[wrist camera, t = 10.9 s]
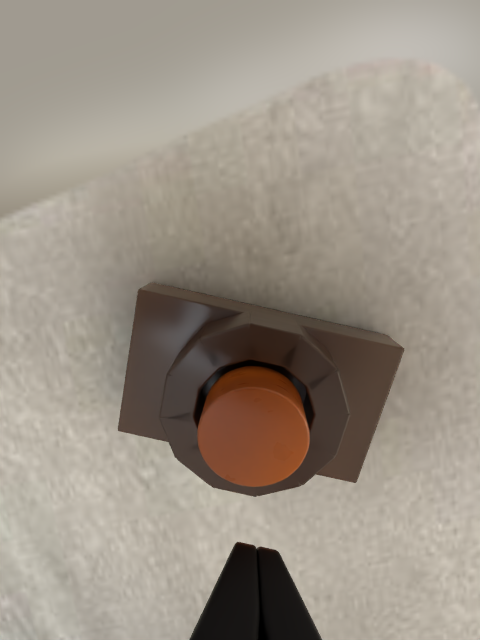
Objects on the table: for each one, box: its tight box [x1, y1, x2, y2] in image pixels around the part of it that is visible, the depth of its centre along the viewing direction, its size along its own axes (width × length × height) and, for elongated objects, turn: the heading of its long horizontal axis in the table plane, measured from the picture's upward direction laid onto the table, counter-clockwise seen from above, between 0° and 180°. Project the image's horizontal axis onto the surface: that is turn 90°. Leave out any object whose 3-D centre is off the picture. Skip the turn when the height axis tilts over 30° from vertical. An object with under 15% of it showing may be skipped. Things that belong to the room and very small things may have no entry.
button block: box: [118, 282, 404, 497], centre depth 14 cm, size 10×6×4 cm, turn 78°
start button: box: [197, 366, 310, 487], centre depth 12 cm, size 3×3×2 cm
